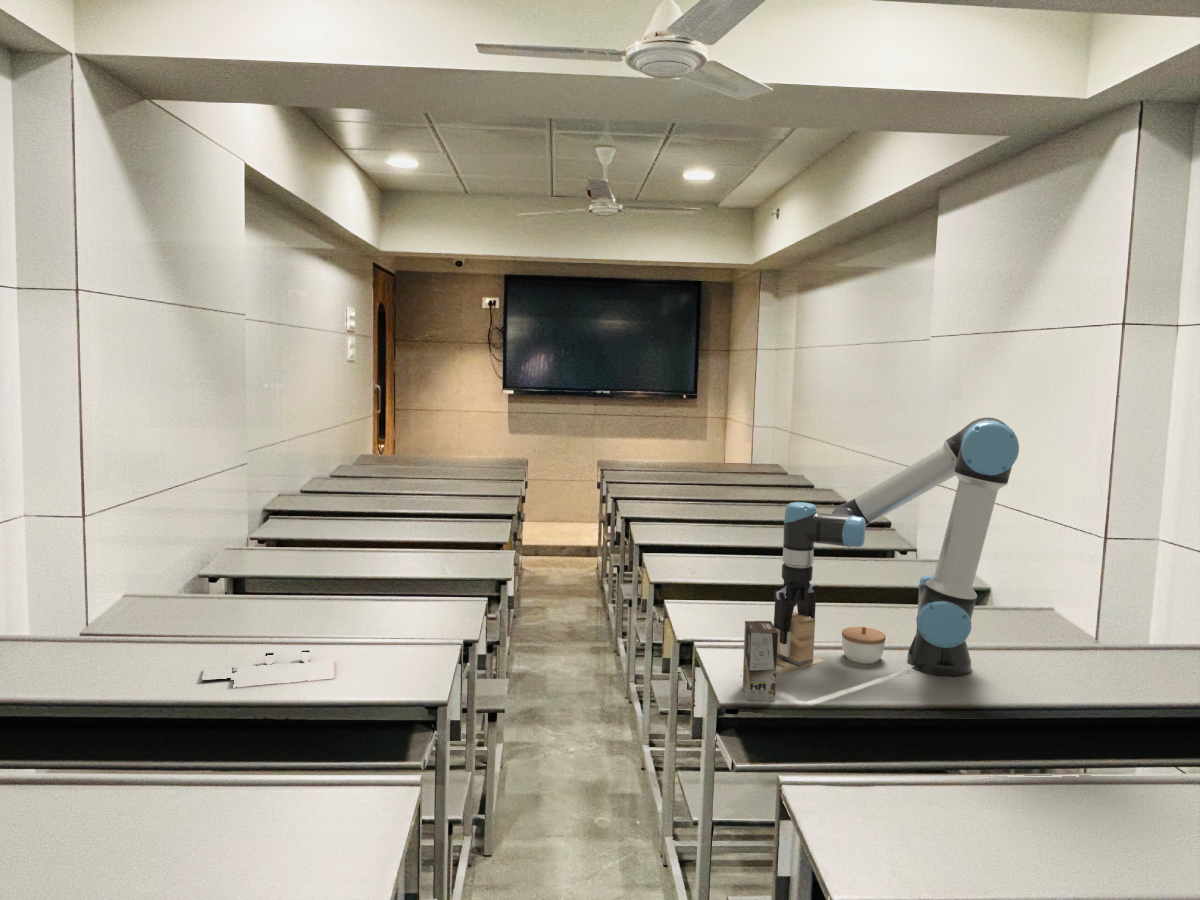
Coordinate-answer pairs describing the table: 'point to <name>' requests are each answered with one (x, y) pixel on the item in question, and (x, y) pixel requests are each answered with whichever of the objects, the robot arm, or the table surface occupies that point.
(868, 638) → the lidded jar
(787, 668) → the board
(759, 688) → the coffee box
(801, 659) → the block
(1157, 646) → the table surface
